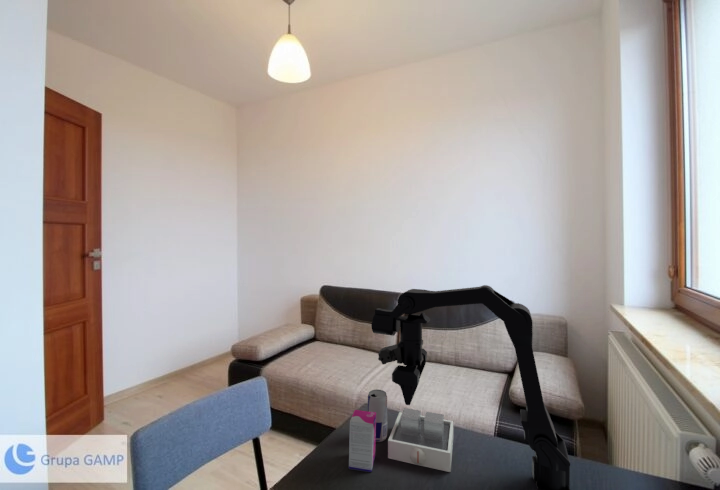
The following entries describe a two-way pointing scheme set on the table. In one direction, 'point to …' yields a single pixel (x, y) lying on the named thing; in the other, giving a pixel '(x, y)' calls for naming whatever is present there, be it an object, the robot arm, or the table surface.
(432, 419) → the block
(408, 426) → the block
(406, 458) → the base
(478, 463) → the table surface
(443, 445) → the pan
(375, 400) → the energy drink
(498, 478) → the table surface
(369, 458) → the supplement box
